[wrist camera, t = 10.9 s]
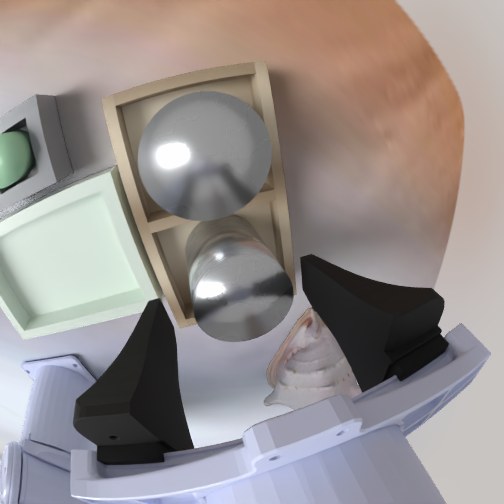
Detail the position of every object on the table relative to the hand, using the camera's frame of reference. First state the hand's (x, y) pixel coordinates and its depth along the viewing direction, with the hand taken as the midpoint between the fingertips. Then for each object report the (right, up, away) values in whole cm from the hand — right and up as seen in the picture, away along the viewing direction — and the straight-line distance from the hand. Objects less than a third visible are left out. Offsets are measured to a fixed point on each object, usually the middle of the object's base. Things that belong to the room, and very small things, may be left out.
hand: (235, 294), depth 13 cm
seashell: (+6, -8, +12) cm, 16 cm away
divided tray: (-2, +5, +3) cm, 6 cm away
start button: (-12, +7, -3) cm, 15 cm away
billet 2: (-1, +2, +3) cm, 4 cm away
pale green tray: (-12, +2, +2) cm, 12 cm away
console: (-12, +8, -2) cm, 15 cm away
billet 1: (-2, +8, 0) cm, 8 cm away
